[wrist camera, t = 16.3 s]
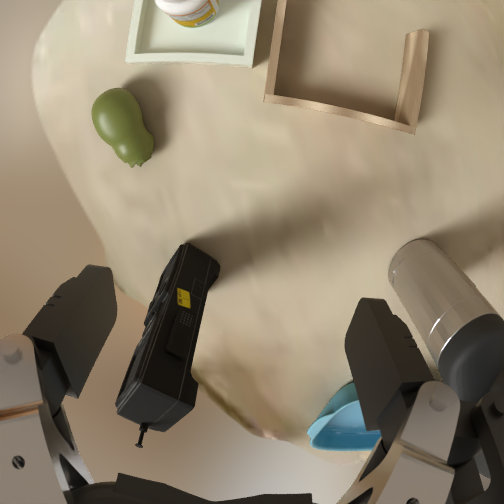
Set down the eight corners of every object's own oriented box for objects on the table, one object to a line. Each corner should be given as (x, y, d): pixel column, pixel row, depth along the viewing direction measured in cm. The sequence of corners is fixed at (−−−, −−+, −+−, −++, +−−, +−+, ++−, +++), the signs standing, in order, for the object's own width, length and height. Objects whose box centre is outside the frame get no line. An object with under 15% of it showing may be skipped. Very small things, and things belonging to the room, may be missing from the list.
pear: (116, 82, 25) (158, 161, 31) (132, 77, 30) (167, 146, 35) (76, 108, 26) (117, 181, 32) (95, 100, 31) (130, 165, 36)
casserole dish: (289, 426, 61) (291, 452, 55) (331, 365, 51) (338, 396, 45) (413, 426, 65) (420, 447, 59) (464, 373, 55) (475, 395, 49)
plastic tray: (267, -34, 23) (268, -42, 21) (252, 68, 30) (251, 65, 27) (150, -34, 23) (144, -41, 20) (133, 64, 29) (125, 62, 27)
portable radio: (187, 233, 39) (118, 394, 17) (226, 257, 41) (197, 429, 19) (160, 274, 42) (94, 428, 20) (196, 296, 44) (157, 456, 22)
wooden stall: (411, 36, 26) (429, 31, 22) (398, 129, 32) (414, 134, 28) (277, 1, 26) (280, -12, 22) (263, 101, 32) (264, 101, 28)
